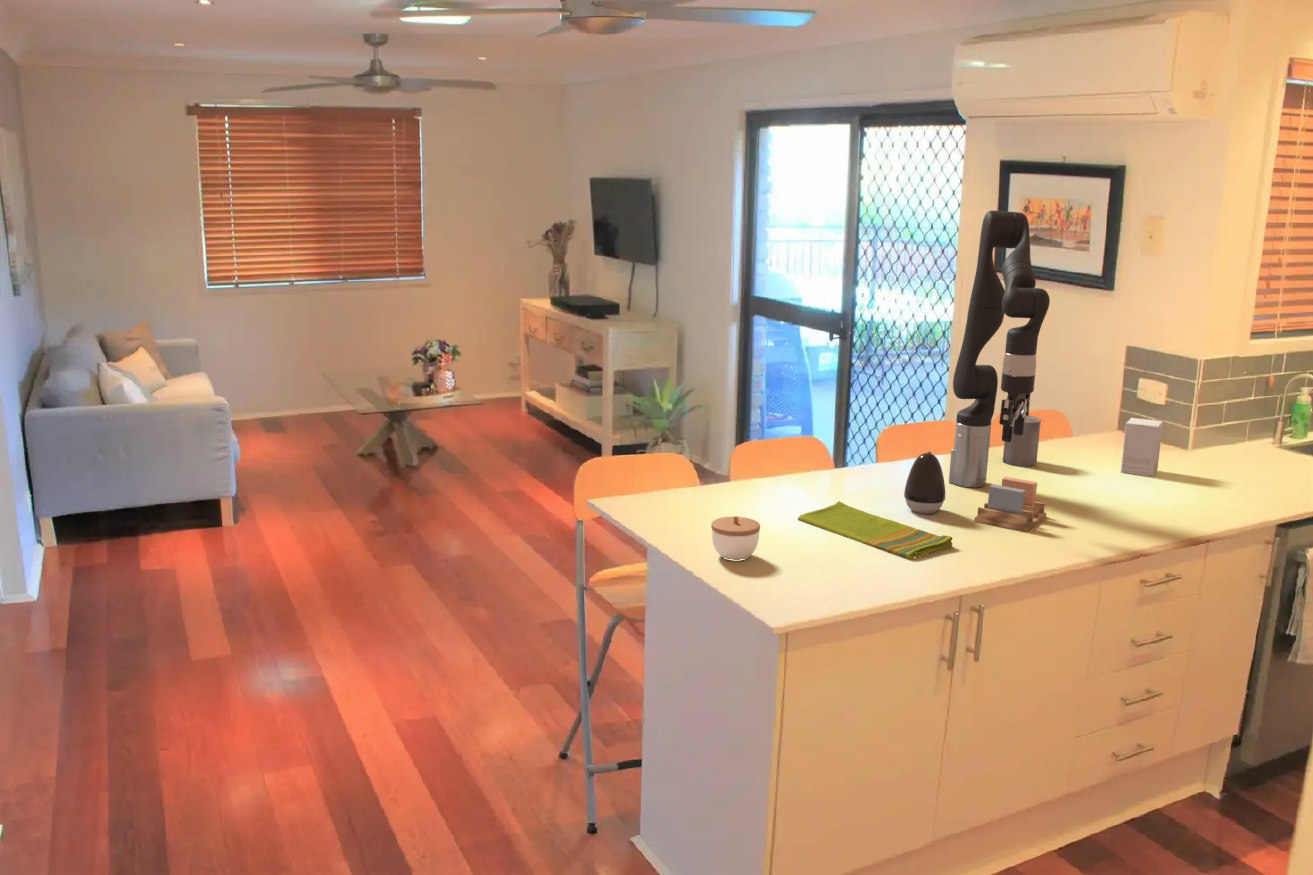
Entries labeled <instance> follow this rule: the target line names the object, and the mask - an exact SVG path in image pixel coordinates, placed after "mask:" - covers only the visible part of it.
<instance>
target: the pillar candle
mask: <svg viewBox="0 0 1313 875" xmlns="http://www.w3.org/2000/svg"><path fill="white" fill-rule="evenodd" d="M1007 420H1008V418H1007ZM1041 422H1042V419H1041V418H1040V417H1037V416H1034V415H1030V414H1029V415H1028V416H1026V420H1025V421H1024V431H1023V435H1015V434H1014V433H1012V441H1011V442H1005V441H1004V442H1003V443H1004V444H1003V457H1002V462H1003V463H1005V464H1006V463H1007V465H1009V464H1010V466H1014V465H1015V467H1022V466H1023V467H1024V466H1025V467H1026V466H1028V467H1032V466H1036V465H1035V464H1037V463H1038V462H1037V461H1038V451H1039V440H1040V430H1041ZM1013 432H1014V425H1013Z"/></svg>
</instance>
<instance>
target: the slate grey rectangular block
mask: <svg viewBox="0 0 1313 875" xmlns="http://www.w3.org/2000/svg"><path fill="white" fill-rule="evenodd" d="M988 487H989V488H988V498H987V500H988V501H987V503H988V508H987V509H992V510H997V511H1002V512H1007V513H1013V514H1018V515H1023V508H1024V498H1025V490H1022V489H1017V488H1011V487H1005V486H1002V485H1000V484H999V485H998V484H994V483H992V484H991V485H989V486H988Z"/></svg>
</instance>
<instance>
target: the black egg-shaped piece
mask: <svg viewBox="0 0 1313 875" xmlns="http://www.w3.org/2000/svg"><path fill="white" fill-rule="evenodd" d="M903 496H904V499H905V502H906V505H907V507H908V509H910V510H911V511H912V512H915V513H918V514H923V515H927V514H928V515H930V514H934V513H936V512H938V511H939V510H940V509H941V508H942V506H943V504H944V501H946V484H945V478H944V473H943V469H942V466H941V463H940V461H939V459H938V458H937V456H935V455H934V454H933V453H932V452H931V451H927V452H923V453H921V454H919V456H918V457H917V458H916V459H915V460H914V462H913V464H912V465H911V468H910V470H909V473H908V476H907V479H906V483H905V487H904V491H903Z"/></svg>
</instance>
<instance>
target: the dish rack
mask: <svg viewBox="0 0 1313 875" xmlns="http://www.w3.org/2000/svg"><path fill="white" fill-rule="evenodd" d="M983 506H984V507H981V506H978V508H977V516H975V517H974V521H975V523H979V522H980V524H985V525H990V526H995V527H1000V528H1005V529H1010V530H1015V529H1017V530H1016V531H1020V530H1022V531H1021V532H1025V533H1028V532H1029V531H1031V529H1032V528H1033V529H1034V527H1035V526H1037V525H1038V524H1039V523H1040V522H1041V521H1042V520H1044V519H1045V518H1046V517H1047V512H1045V508H1046V507H1045V506H1046V503H1045V502H1039V501H1035V507H1033V506H1028V505H1024V508H1023V515H1018V514H1013V513H1007V512H1002V511H997V510H992V509H987V508H988V502H985V503H984V505H983ZM1027 531H1028V532H1027Z"/></svg>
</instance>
